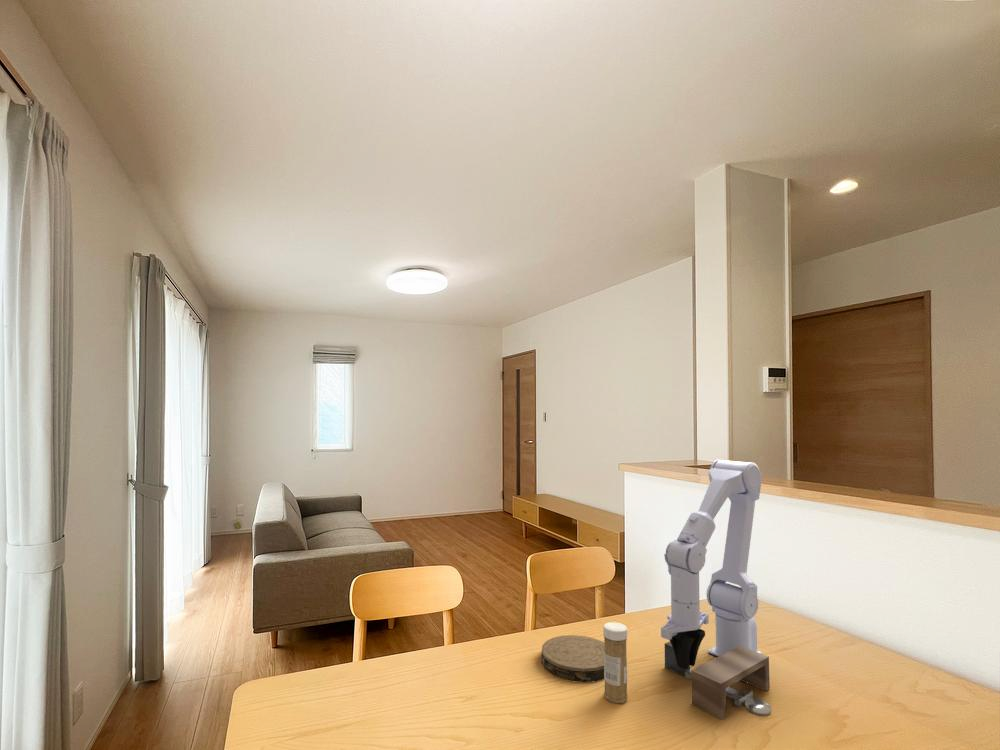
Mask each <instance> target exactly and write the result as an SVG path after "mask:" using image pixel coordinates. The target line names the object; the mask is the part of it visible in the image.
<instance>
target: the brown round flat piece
mask: <svg viewBox="0 0 1000 750" xmlns="http://www.w3.org/2000/svg"><path fill="white" fill-rule="evenodd" d="M541 665H542V666H543V668H544V670H546V671H547V672H548V673H549V674H550V675H553V676H554V677H556V678H558V679H561V680H566V681H570V682H574V681H575V682H576V683H593V682H592V681H595V682H599V681H603V680H605V679H604V641H602V640H600V639H596V638H594V637H589V636H585V635H575V634H572V635H571V634H570V635H569V634H568V635H560V636H559V635H558V636H555V637H552V638H549V639H548V640H546V641H545V642H544V643H543V644H542V646H541ZM602 679H603V680H602ZM598 680H599V681H598Z"/></svg>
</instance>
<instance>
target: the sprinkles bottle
mask: <svg viewBox="0 0 1000 750" xmlns="http://www.w3.org/2000/svg"><path fill="white" fill-rule="evenodd" d="M602 630H603V632H602V633H603V638H604V640H603V642H604V679H603V680H604V692H603V696H604V698H605V699H606V700H607V701H608V702H609V703H610V702H611V703H613V704H623V703H625V702H626V701H627V700H628V698H629V696H628V695H629V694H628V660H627V658H628V656H627V640H628V639H627V638H628V627H627V626H626V625H625V624H623V623H620V622H617V621H616V622H615V621H613V622H612V621H611V622H609V621H608V622H606V623H605V624H603V629H602Z"/></svg>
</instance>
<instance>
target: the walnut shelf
mask: <svg viewBox="0 0 1000 750" xmlns="http://www.w3.org/2000/svg"><path fill="white" fill-rule="evenodd" d="M690 670H691V680H690V682H691V683H690V685H691V686H690V687H691V689H690V690H691V705H692V706H693V707H696V708H698V709H700V710H702V711H704V712H706V713H707V714H709V715H712V716H713V717H715V718H717V719H719V720H723V719H725V718H726V717H727V709H726V708H727V705H726V704H727V699H726V698H727V696H726V688H727V687H730V686H732V685H733V684H735V683H738V681H742V682H744V681H745V682H744V683H747V682H748V683H747V684H749V683H750V684H749V685H751V684H752V685H751V686H753V685H754V687H756V686H757V687H756V688H758V687H759V688H758V689H760V688H762V689H761V690H763V689H764V690H763V691H765V690H767V691H768V690H769V688H771V687H770V656H768V655H765V654H763V653H762V652H761V653H758V652H755V651H753V650H750V649H747V648H745V647H742V646H738V647H736V648H734V649H732V650H730V651H729V652H727V653H725V654H723V655H721V656H719V657H718V656H716V657H715V658H713V659H710V660H709V661H707V662H705V663H703V664H701V665H699V666H696V667H695V668H693V669H690Z"/></svg>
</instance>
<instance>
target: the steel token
mask: <svg viewBox="0 0 1000 750" xmlns="http://www.w3.org/2000/svg"><path fill="white" fill-rule="evenodd" d="M745 707H746V708H745ZM744 708H745V709H746V710H747V711H748V710H749V712H750V713H751V714H754V713H755V714H754V715H757V714H758V715H757V716H763V715H766V716H769V715H771V714H772V707H771V705H770V704H769V703H768V702H766V701H765V700H762V699H761V698H760V699H759V698H754V697H753V698H748V699H746V700H745V704H744ZM770 713H771V714H770Z"/></svg>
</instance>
